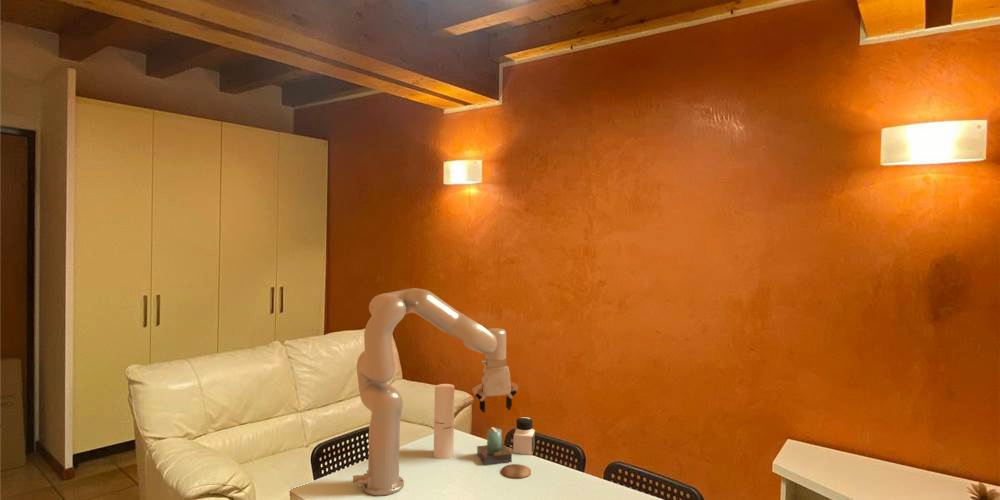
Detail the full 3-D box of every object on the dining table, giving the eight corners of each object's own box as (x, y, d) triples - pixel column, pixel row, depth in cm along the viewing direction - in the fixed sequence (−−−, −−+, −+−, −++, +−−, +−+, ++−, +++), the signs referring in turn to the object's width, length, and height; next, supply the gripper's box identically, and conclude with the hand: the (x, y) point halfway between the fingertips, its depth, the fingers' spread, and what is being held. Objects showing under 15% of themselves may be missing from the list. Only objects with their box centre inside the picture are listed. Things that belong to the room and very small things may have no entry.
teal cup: (489, 453, 178) (489, 432, 178) (485, 448, 183) (485, 427, 183) (503, 452, 180) (503, 431, 180) (498, 446, 185) (499, 426, 185)
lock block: (484, 465, 175) (484, 454, 175) (477, 454, 185) (477, 444, 185) (511, 462, 178) (511, 451, 178) (503, 451, 188) (503, 441, 188)
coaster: (506, 480, 164) (506, 478, 164) (497, 467, 174) (497, 466, 174) (535, 476, 167) (535, 474, 167) (525, 464, 177) (525, 462, 177)
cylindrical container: (436, 450, 188) (437, 383, 188) (455, 451, 187) (456, 384, 187) (431, 457, 181) (432, 388, 181) (450, 459, 180) (451, 389, 180)
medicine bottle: (532, 455, 185) (532, 422, 185) (513, 453, 186) (513, 421, 187) (534, 447, 192) (535, 416, 192) (516, 446, 193) (516, 415, 194)
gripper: (475, 366, 176) (475, 415, 176) (521, 363, 181) (521, 411, 181) (470, 362, 183) (470, 409, 183) (515, 359, 188) (514, 404, 188)
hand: (495, 410), depth 182 cm, fingers open, 9 cm apart
